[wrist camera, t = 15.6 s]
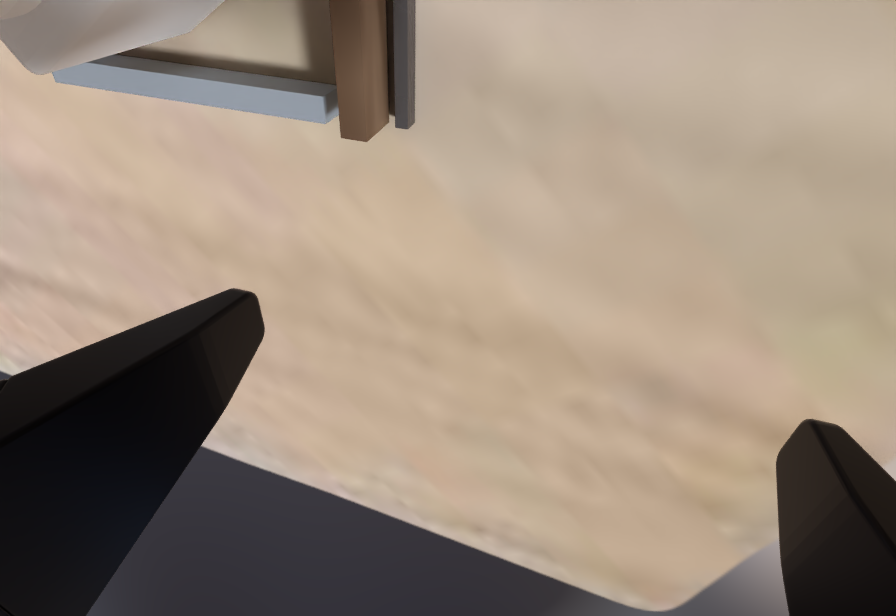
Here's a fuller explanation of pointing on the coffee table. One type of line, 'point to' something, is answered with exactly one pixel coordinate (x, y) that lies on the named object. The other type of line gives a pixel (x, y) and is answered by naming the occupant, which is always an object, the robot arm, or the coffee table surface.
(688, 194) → the coffee table surface
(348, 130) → the wooden plank
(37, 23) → the medicine bottle
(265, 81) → the grey angle bracket
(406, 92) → the rail
